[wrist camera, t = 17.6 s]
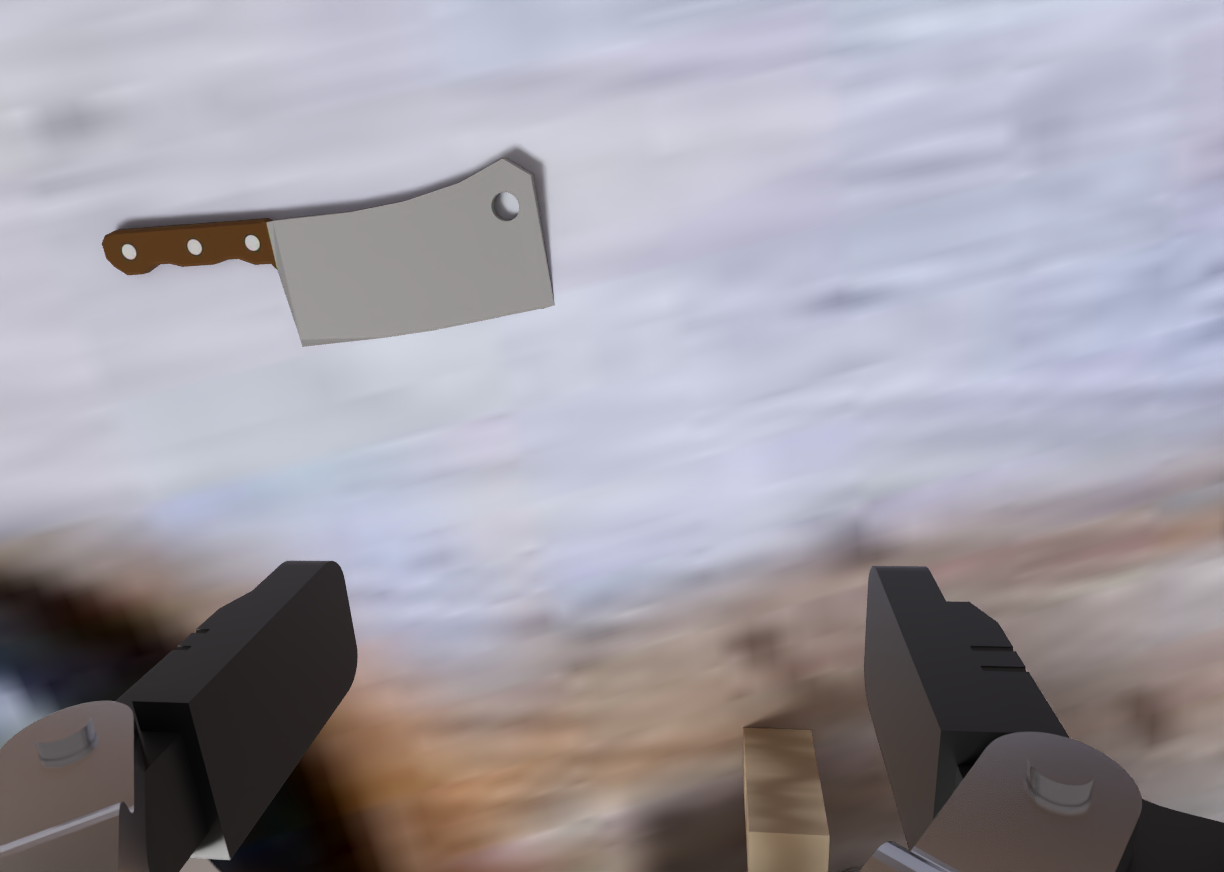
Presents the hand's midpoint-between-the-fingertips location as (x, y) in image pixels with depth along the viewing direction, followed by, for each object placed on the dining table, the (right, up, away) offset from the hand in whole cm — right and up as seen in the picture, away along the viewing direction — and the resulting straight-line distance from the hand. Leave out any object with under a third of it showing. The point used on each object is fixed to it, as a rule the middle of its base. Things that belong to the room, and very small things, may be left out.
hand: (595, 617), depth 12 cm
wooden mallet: (+11, -22, +38) cm, 45 cm away
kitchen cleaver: (-15, +12, +31) cm, 36 cm away
